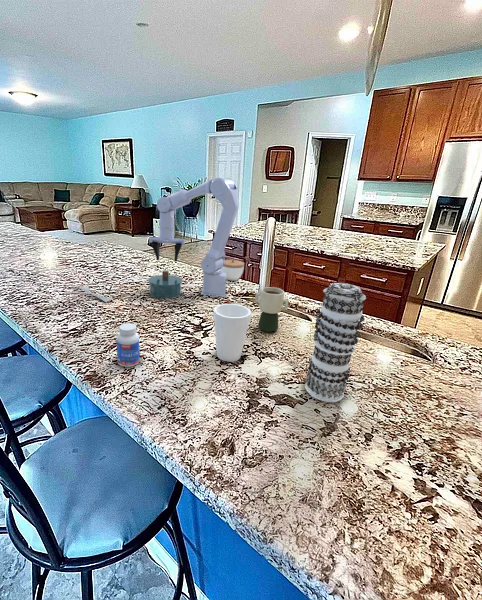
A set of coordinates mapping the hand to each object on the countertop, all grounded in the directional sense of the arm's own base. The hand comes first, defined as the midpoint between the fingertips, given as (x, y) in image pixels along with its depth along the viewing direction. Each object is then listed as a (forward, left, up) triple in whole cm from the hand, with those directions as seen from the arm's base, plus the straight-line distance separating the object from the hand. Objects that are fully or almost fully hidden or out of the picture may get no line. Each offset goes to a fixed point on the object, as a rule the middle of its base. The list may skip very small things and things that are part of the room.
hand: (166, 260), depth 136 cm
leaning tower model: (-50, +68, -11) cm, 85 cm away
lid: (-2, +13, -5) cm, 14 cm away
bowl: (-2, +13, -10) cm, 17 cm away
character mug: (-40, +38, -11) cm, 56 cm away
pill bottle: (-3, +63, -11) cm, 64 cm away
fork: (+25, +20, -11) cm, 34 cm away
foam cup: (-28, +56, -11) cm, 64 cm away
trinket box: (-28, -14, -11) cm, 33 cm away
